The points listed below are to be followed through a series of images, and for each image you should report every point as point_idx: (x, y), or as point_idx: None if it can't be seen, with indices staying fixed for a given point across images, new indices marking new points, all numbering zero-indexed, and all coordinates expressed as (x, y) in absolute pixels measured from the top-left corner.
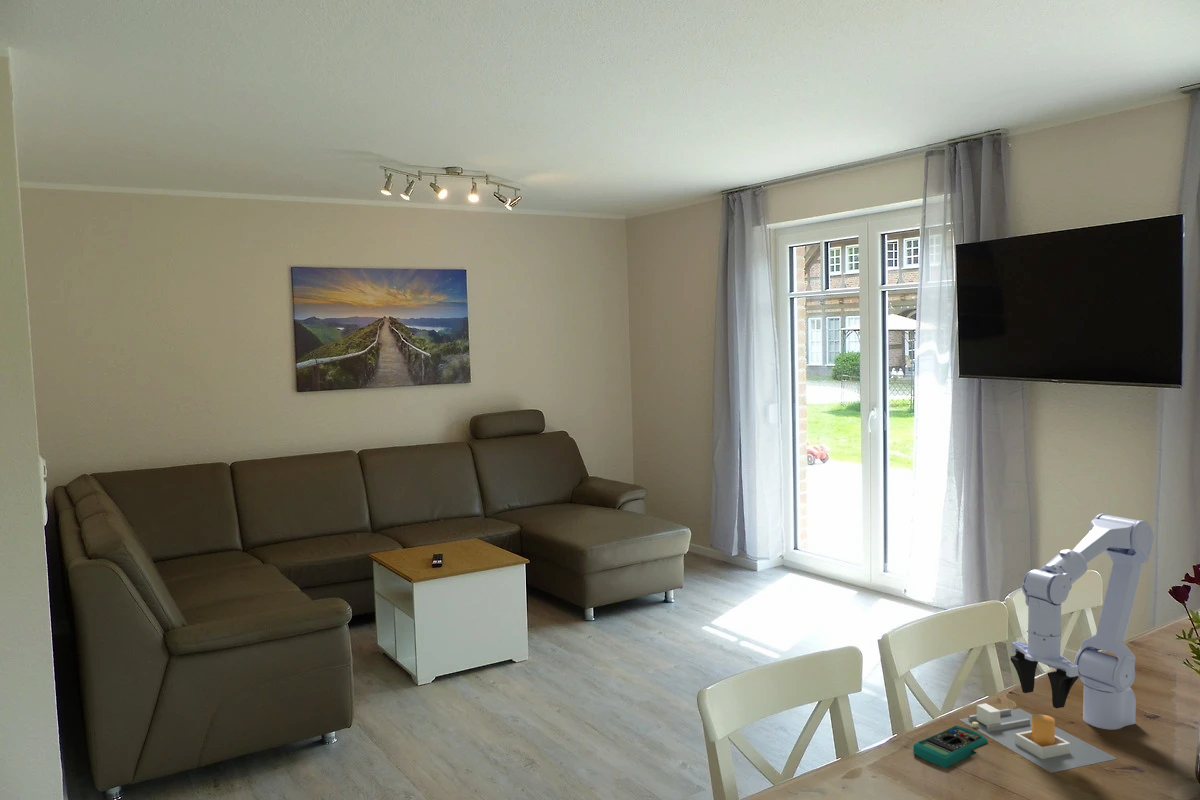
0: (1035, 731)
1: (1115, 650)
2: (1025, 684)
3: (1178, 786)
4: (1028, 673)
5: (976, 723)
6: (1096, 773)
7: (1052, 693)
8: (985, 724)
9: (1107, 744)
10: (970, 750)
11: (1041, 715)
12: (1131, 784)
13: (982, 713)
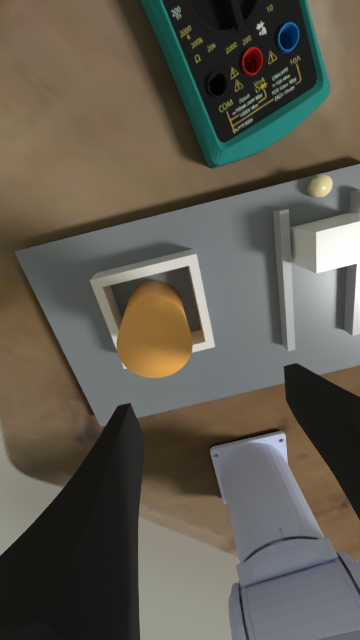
0: (144, 299)
1: None
2: (305, 394)
3: (22, 462)
4: (346, 457)
5: (318, 187)
6: (64, 364)
7: (110, 451)
8: (311, 222)
9: (186, 439)
10: (167, 55)
11: (179, 353)
12: (20, 400)
13: (343, 221)
